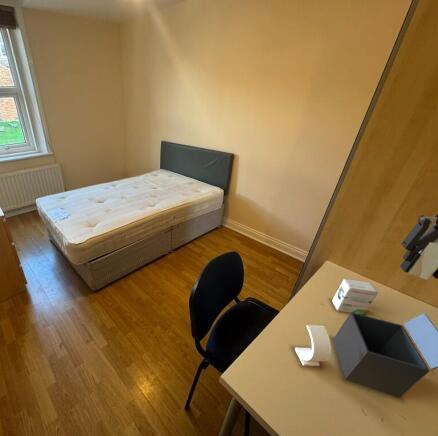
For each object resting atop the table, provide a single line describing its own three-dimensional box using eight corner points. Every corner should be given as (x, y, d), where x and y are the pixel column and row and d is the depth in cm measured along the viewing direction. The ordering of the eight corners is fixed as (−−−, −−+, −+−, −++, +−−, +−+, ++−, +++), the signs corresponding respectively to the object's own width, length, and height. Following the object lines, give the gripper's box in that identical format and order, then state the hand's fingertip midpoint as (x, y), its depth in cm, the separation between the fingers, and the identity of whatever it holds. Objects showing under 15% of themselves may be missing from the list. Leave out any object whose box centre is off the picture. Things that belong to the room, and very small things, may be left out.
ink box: (357, 304, 87) (371, 282, 81) (364, 315, 83) (380, 292, 77) (331, 300, 89) (343, 277, 84) (336, 310, 85) (350, 287, 79)
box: (409, 265, 70) (431, 234, 64) (430, 272, 67) (455, 241, 61) (406, 272, 67) (429, 241, 61) (427, 281, 64) (454, 249, 58)
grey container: (379, 352, 72) (402, 325, 65) (399, 398, 61) (430, 371, 55) (333, 339, 76) (350, 311, 69) (345, 379, 65) (367, 352, 59)
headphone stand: (309, 349, 73) (323, 325, 67) (320, 369, 68) (337, 346, 62) (294, 348, 73) (307, 325, 67) (304, 369, 68) (319, 345, 62)
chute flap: (403, 323, 65) (404, 324, 65) (430, 368, 54) (432, 369, 54) (424, 312, 61) (425, 313, 61) (457, 359, 51) (459, 360, 51)
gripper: (431, 199, 55) (382, 271, 67) (551, 214, 49) (474, 291, 60) (414, 188, 61) (372, 256, 73) (519, 200, 55) (455, 272, 66)
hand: (418, 272), depth 67 cm, fingers closed on box, 6 cm apart
